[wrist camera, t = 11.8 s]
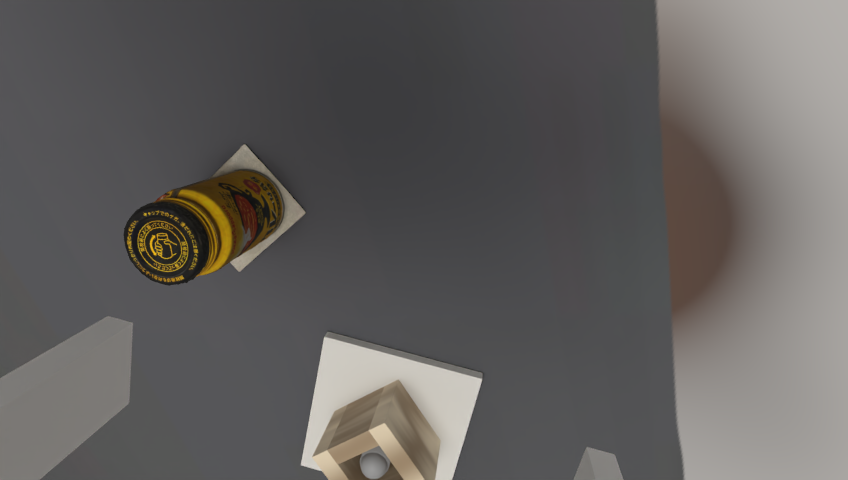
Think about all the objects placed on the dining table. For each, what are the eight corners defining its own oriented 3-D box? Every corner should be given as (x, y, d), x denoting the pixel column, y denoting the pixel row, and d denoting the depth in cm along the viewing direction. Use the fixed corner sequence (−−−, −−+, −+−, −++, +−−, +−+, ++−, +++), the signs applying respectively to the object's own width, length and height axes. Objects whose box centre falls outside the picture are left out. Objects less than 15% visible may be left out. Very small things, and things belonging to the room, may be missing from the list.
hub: (328, 331, 44) (298, 374, 37) (482, 372, 43) (481, 424, 36) (304, 457, 48) (274, 517, 41) (445, 497, 47) (437, 565, 40)
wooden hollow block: (334, 411, 45) (311, 459, 39) (398, 379, 43) (384, 424, 37) (376, 469, 46) (360, 524, 40) (440, 440, 44) (433, 493, 38)
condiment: (307, 212, 41) (236, 257, 29) (240, 271, 43) (150, 334, 32) (246, 143, 40) (148, 162, 28) (181, 207, 42) (66, 249, 31)
